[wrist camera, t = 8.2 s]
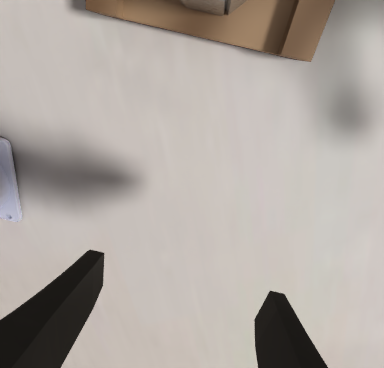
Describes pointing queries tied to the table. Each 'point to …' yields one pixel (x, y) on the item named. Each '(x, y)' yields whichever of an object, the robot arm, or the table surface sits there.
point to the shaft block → (234, 22)
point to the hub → (213, 5)
